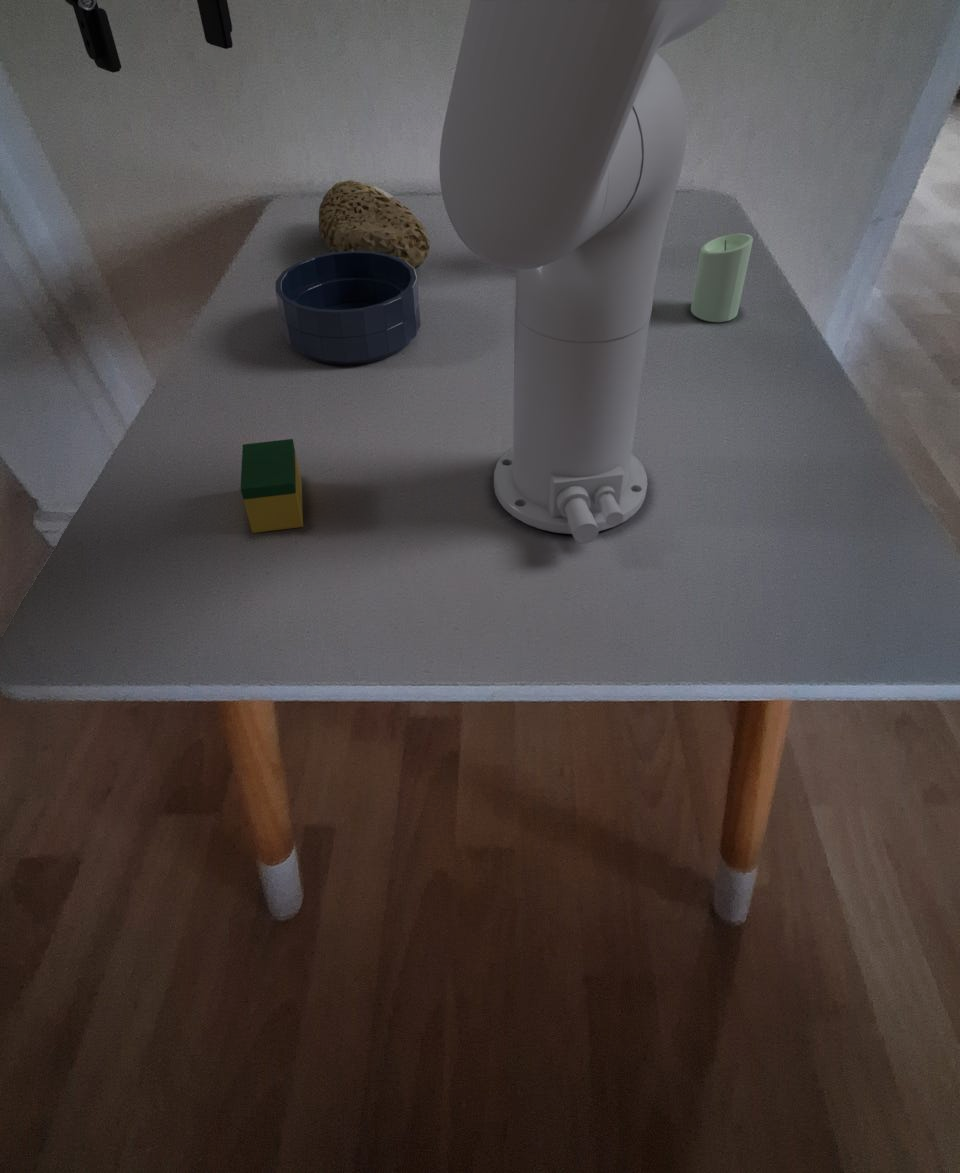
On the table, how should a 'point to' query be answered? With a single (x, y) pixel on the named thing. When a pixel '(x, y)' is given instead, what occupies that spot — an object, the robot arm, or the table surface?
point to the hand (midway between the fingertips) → (166, 57)
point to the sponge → (371, 223)
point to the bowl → (349, 306)
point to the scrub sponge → (271, 485)
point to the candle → (721, 277)
